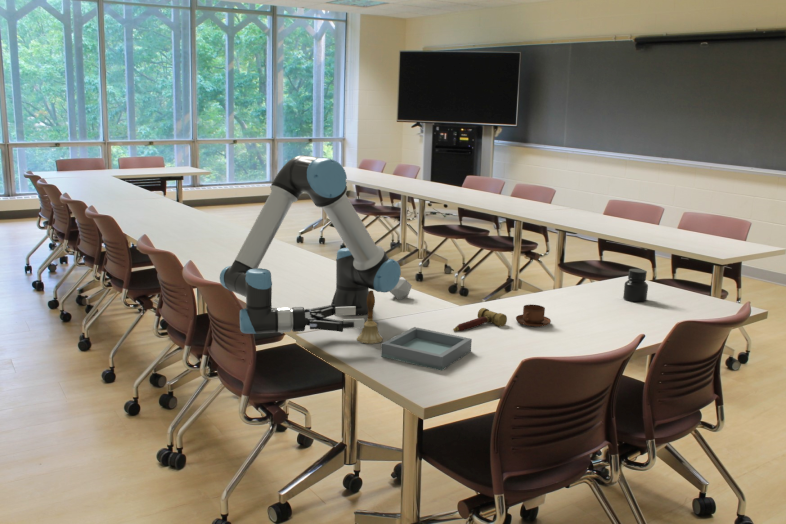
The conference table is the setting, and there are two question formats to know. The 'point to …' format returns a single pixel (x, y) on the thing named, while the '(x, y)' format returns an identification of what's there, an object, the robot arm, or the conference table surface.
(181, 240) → the conference table surface
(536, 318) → the cup and saucer
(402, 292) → the grey polyhedron block
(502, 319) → the gavel
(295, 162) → the robot arm
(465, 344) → the box
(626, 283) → the ink bottle
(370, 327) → the hand bell
